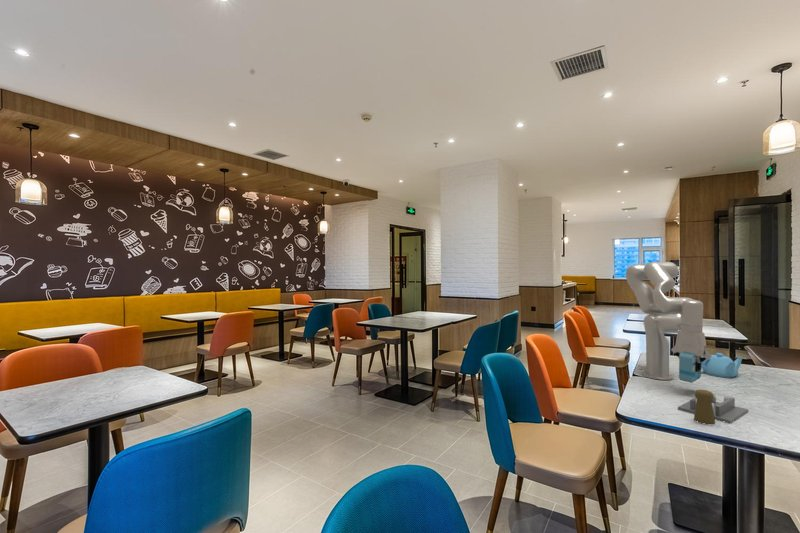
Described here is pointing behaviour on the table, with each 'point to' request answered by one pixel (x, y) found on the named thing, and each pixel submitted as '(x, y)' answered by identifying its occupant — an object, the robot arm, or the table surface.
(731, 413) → the tray
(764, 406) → the table surface
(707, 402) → the cork
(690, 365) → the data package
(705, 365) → the teapot
